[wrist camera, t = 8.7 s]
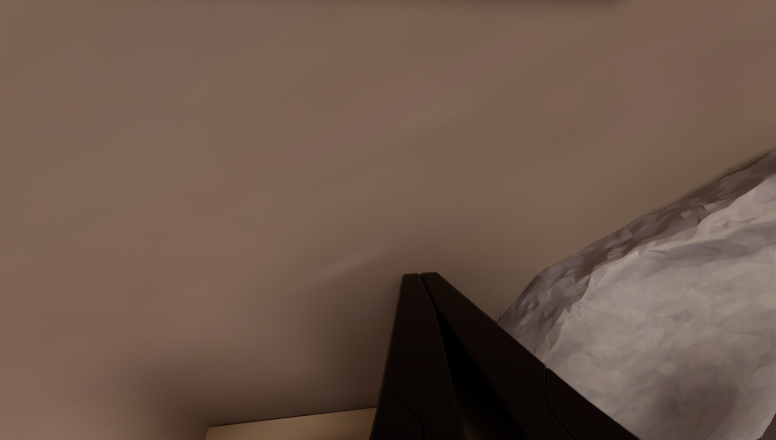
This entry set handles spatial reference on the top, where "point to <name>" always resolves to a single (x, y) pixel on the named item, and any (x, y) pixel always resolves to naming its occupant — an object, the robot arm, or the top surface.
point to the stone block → (669, 315)
